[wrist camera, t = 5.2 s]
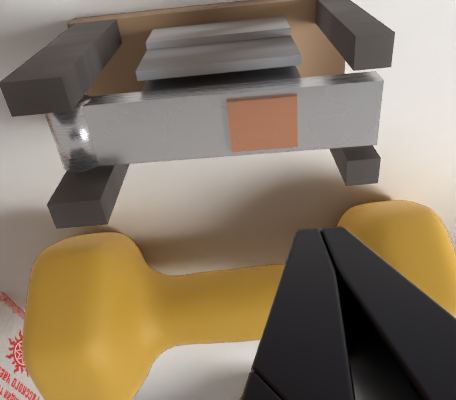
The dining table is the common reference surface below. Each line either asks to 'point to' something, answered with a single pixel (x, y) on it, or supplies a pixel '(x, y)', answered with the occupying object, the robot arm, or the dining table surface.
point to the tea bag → (13, 355)
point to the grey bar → (219, 121)
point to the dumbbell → (185, 300)
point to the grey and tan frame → (193, 71)
